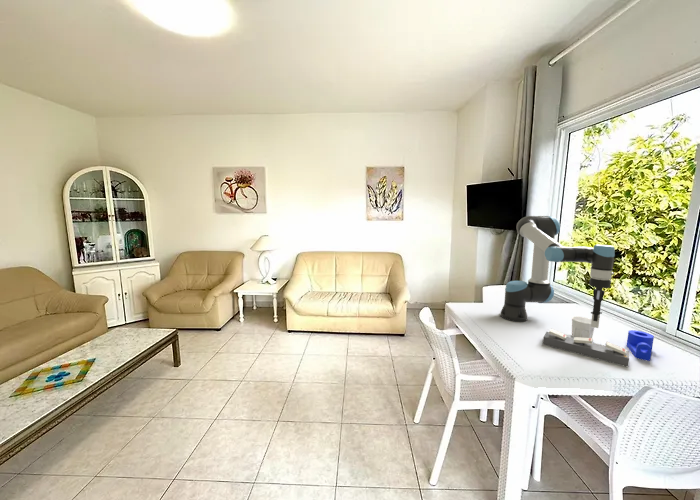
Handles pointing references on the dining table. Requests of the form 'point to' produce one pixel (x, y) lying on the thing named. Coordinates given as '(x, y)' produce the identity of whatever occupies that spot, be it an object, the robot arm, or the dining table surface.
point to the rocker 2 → (583, 340)
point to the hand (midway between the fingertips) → (594, 326)
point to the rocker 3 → (615, 348)
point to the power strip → (587, 349)
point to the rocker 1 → (558, 334)
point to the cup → (582, 327)
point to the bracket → (640, 344)
